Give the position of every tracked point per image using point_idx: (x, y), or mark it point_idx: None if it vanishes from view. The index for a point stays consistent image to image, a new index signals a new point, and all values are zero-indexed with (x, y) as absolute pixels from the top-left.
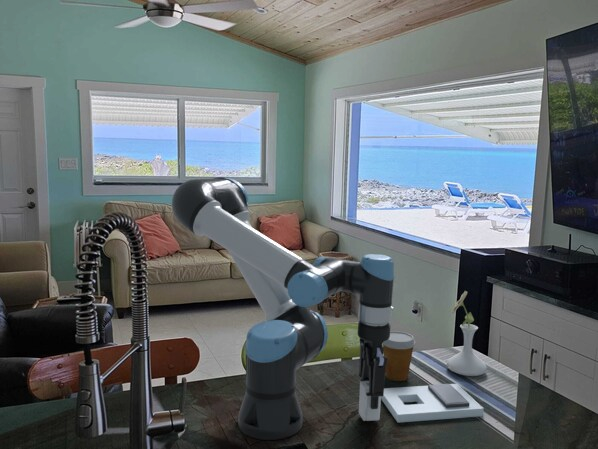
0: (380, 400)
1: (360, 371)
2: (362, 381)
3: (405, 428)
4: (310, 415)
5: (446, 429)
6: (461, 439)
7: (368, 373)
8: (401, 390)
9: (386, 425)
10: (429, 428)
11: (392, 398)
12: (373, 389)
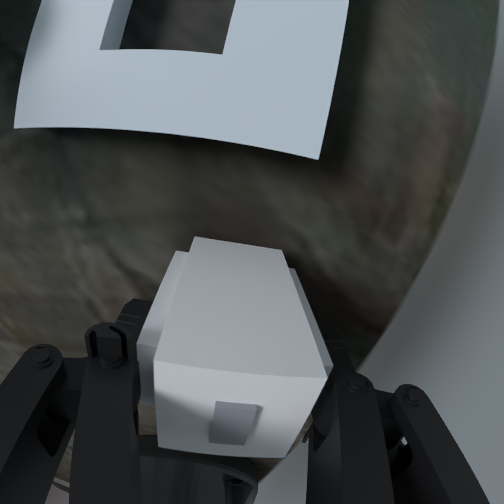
0: (303, 310)
1: (64, 447)
2: (162, 439)
3: (365, 151)
4: (154, 415)
5: (420, 7)
6: (479, 27)
7: (137, 467)
8: (62, 14)
9: (308, 221)
10: (398, 55)
11: (120, 91)
12: (399, 470)
